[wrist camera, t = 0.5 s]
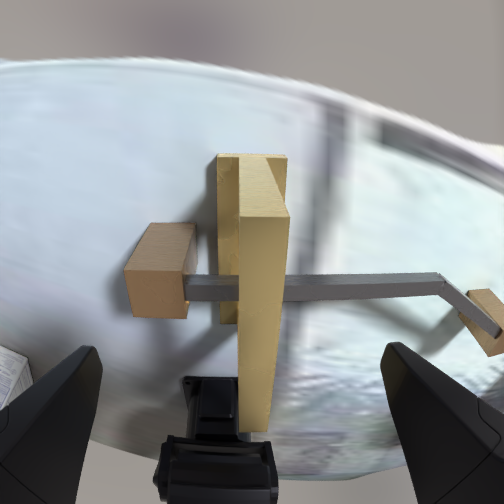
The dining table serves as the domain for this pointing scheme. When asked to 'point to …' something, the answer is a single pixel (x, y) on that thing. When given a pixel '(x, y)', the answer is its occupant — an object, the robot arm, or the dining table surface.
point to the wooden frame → (253, 271)
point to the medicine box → (13, 375)
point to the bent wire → (285, 285)
